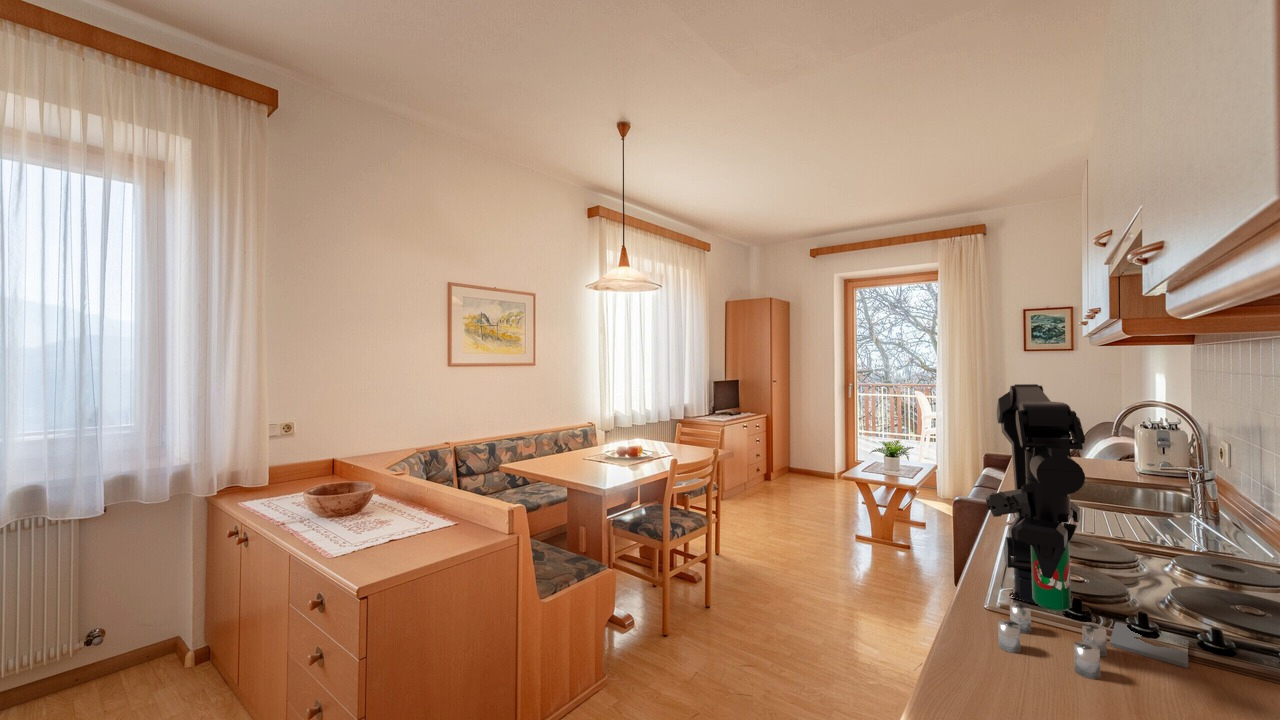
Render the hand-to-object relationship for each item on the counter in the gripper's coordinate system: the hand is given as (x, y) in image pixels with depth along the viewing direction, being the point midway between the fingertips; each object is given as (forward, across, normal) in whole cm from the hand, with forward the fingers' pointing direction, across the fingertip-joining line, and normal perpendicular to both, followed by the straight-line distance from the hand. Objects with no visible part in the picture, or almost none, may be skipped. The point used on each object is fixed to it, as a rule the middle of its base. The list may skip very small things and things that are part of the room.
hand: (1050, 572), depth 86 cm
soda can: (+6, 0, 0) cm, 6 cm away
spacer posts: (+13, 0, 0) cm, 13 cm away
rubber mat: (+13, -12, +11) cm, 21 cm away
